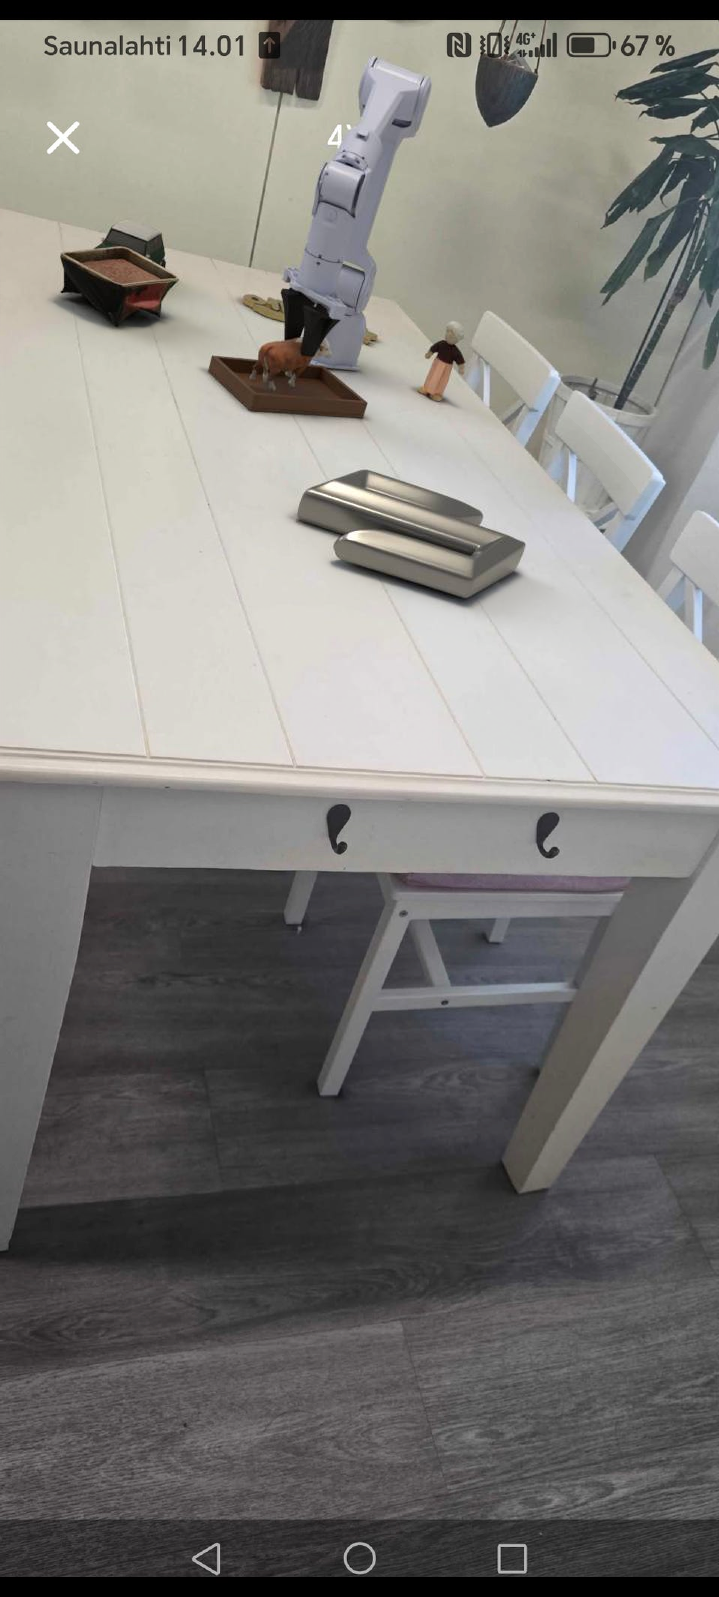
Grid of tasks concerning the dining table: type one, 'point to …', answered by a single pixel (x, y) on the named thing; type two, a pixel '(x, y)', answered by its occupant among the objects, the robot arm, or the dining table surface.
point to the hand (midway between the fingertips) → (298, 348)
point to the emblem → (410, 532)
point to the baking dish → (117, 281)
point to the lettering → (281, 311)
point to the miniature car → (136, 240)
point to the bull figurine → (285, 360)
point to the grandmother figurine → (444, 361)
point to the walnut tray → (288, 389)
